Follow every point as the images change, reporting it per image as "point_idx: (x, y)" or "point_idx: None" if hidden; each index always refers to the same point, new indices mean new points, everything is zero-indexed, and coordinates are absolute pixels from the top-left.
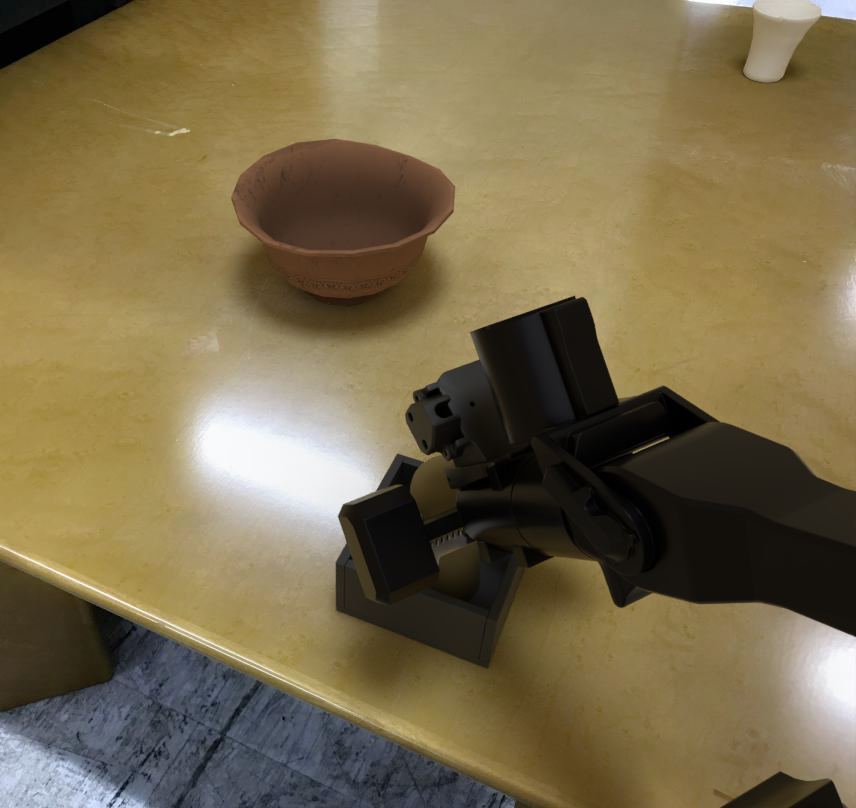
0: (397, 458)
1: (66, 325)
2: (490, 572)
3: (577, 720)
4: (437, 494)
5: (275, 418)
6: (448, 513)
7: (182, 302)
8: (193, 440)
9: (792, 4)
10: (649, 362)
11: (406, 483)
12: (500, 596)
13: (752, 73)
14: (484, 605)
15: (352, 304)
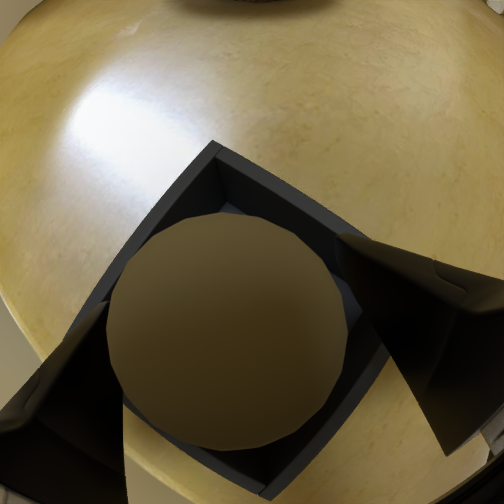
0: (208, 149)
1: (62, 38)
2: None
3: (336, 500)
4: (144, 404)
5: (143, 83)
6: None
7: (132, 9)
8: (73, 109)
9: None
10: (489, 109)
11: (227, 184)
12: (293, 468)
13: (490, 5)
14: None
15: (257, 1)
